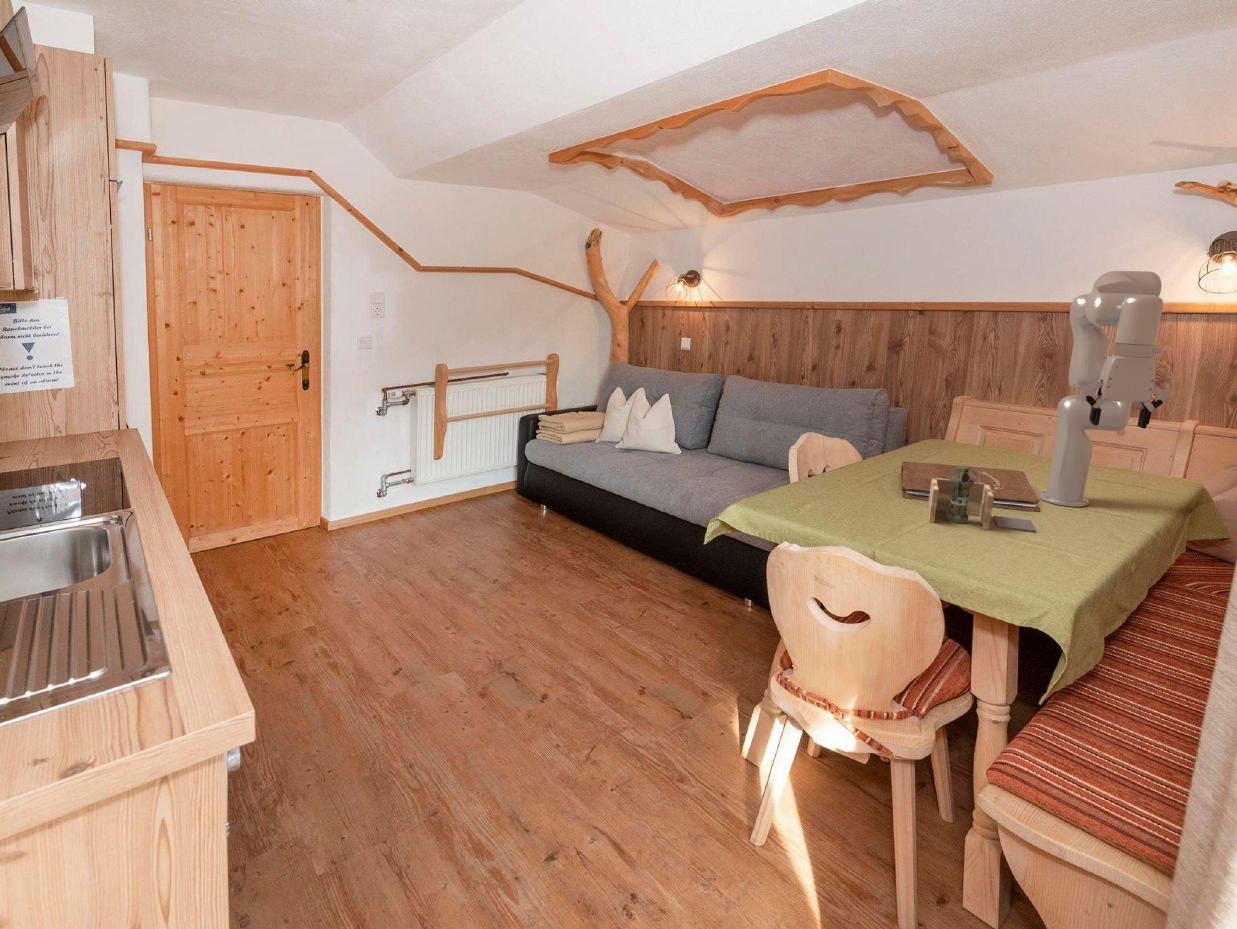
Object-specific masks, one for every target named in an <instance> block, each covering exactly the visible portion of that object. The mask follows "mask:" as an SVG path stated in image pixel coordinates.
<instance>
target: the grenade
mask: <svg viewBox="0 0 1237 929" xmlns="http://www.w3.org/2000/svg"><path fill="white" fill-rule="evenodd" d="M971 468H972V466H968V465H958V466H955V467H954V468H953V474H952V476H951V478H950V484H951V495H952V500H951V505H952V506H950V511H949V512H947V511H946V516H945V520H946V521H948V522H950V523H956V524H967V523H968V522H969V514H966V510H967V504H968V497H969V491H970V488H971V487H973V485H974V482H975V483H981V478H980V476H979V474H978V473H977V472H976V471H975V470H974V469H971ZM970 472H972V473H973V474H975V476H976V477H977V480H978V481H977V480H975V479H974V478H973V477H972V475H971V474H970ZM967 493H968V495H967ZM966 500H967V501H966ZM965 507H966V508H965Z"/></svg>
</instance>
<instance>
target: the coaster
mask: <svg viewBox="0 0 1237 929" xmlns="http://www.w3.org/2000/svg"><path fill="white" fill-rule="evenodd" d="M993 521H994V522H995V525H996V528H997V529H1003V530H1004V529H1005V530H1011V531H1012V530H1013V531H1018V532H1019V531H1020V532H1027V533H1034V534H1035V533H1036V534H1037V529H1036V527H1035V526H1034V523H1033V522H1032V520H1031V519H1025V518H1024V519H1023V518H1018V517H1017V518H1016V517H1008V516H999V515H993Z"/></svg>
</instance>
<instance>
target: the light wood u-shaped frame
mask: <svg viewBox="0 0 1237 929" xmlns="http://www.w3.org/2000/svg"><path fill="white" fill-rule="evenodd" d="M950 480H951V478H950V479H949V478H948V479H947V478H939V477H931V482H930V487H929V488H930V489H929V496H928V501H927V514H928V523H932V524H933V523H935V518H936V512H938V511H939V512H946V513H947V512H949V511H950V506H952V505H951V500H952V495H951V484H950ZM967 495H968V493H967ZM994 498H995V496H994V494H993V491H992V489H991V486H990V484H989V483H986V482H979V483H975V482H974V485H973V487H971V488H970V491H969V497H968V504H967V510H966V514H967V515H971V516H972V515H973V516H979V519H980V522H981V525H982V528H983V529H984V530H987V531H988V530H989V529H990V524H991V517H992V511H993V504H994V500H995V499H994ZM966 501H967V500H966ZM965 508H966V507H965Z"/></svg>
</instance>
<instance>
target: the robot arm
mask: <svg viewBox="0 0 1237 929" xmlns="http://www.w3.org/2000/svg"><path fill="white" fill-rule="evenodd" d="M1161 291H1162V279H1161V277H1160V276H1159V275H1158V274H1157V273H1155V272H1154V271H1145V270H1144V271H1139V270H1113V271H1108V272H1105V273H1103V274H1101V275H1099V277H1097V279H1096V280H1095V281H1094V283H1093V286H1092V290H1091V291H1090V293H1086V294H1080V295H1078V296H1076V297H1075V298H1074V299H1073V300H1072V301H1071V304H1070V309H1069V323H1070V327H1071V332H1072V336H1073V338H1072V339H1073V344H1072V351H1071V356H1070V357H1071V358H1070V365H1069V370H1068V371H1069V372H1068V385H1069V386H1070V387H1071V389H1075V390H1078V391H1081V392H1082V394H1071V395H1067V396H1064V397H1062V398H1061V399H1060V400H1059V402H1058V405H1057V415H1056V418H1057V419H1056V422H1057V423H1056V424H1057V425H1056V433H1055V434H1056V436H1055V440H1054V441H1055V442H1054V446H1053V447H1054V448H1053V452H1052V459H1051V463H1050V469H1049V473H1048V474H1049V475H1048V480H1047V486H1046V490H1045V491H1041V492H1040V493H1039V498H1040V500H1042V501H1043V502H1047V503H1050V504H1054V505H1059V506H1064V507H1075V508H1077V507H1078V508H1079V507H1080V508H1081V507H1087V506H1088V505H1089V503H1090V500H1089V499H1088V498H1087V497H1085V492H1086V485H1087V480H1088V476H1089V470H1090V465H1091V460H1092V455H1093V450H1094V446H1093V445H1094V444H1093V441H1092V438H1091V437H1090V436H1089V434H1087V433H1086V431H1087V430H1093V431H1094V430H1095V431H1107V432H1120V431H1122V430H1124V429H1126V427H1127V425H1128V424H1129V420H1130V416H1131V411H1132V410H1131V409H1132V403H1139V404H1140V405H1141V406H1142V408H1141V409H1140V411H1139V415H1138V421H1137V427H1139V428H1140V429H1143V430H1145V429H1147V425H1149V424H1150V420H1151V416H1152V412H1154V411H1155V410H1156V409H1158V408H1159V407H1160V406H1162V404H1163V403H1164V402H1165V401H1166V399H1168V397H1169V396H1170V393H1169V392H1168V391H1166V390H1165V389H1162V388H1161V387H1159V386H1157V385H1156V384H1155V380H1156V378H1155V377H1156V360H1155V358H1153V357H1154V355H1156V354H1157V355H1159V354H1161V351H1162V348H1161V347H1157V346H1156V340H1157V336H1158V332H1159V331H1158V330H1159V326H1160V322H1161V317H1162V314H1163V309H1164V301H1163V298H1161V297H1160V296H1161ZM1102 327H1116V334H1115V339H1114V344H1113V350H1112V354H1111V355H1108V352H1109V346H1110V340H1109V336H1108V335H1107V333H1106V332H1105V331H1104V329H1103V328H1102ZM1091 392H1095V395H1092V394H1091ZM1154 393H1155V394H1157V397H1156V398H1155V399H1153V400H1152V401H1151V399H1152V397H1153V394H1154Z"/></svg>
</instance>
